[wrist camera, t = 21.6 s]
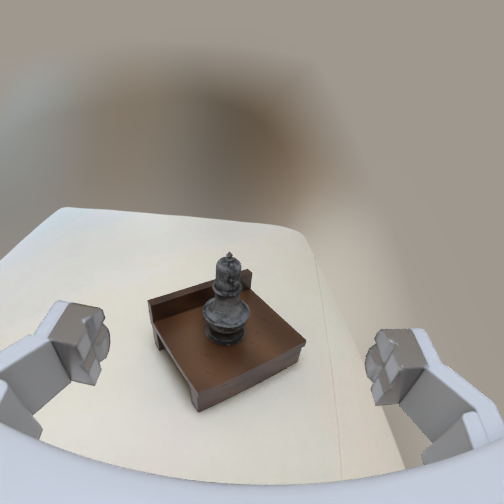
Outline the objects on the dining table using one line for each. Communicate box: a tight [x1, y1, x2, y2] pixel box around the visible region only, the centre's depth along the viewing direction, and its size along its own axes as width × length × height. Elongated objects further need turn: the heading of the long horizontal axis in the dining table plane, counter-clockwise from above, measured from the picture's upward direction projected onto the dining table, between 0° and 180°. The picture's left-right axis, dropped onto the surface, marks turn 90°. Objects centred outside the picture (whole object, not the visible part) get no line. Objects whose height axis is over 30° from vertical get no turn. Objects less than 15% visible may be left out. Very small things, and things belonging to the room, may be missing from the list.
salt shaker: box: [203, 252, 250, 346], centre depth 37 cm, size 6×6×12 cm
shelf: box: [148, 269, 306, 412], centre depth 40 cm, size 16×14×8 cm
